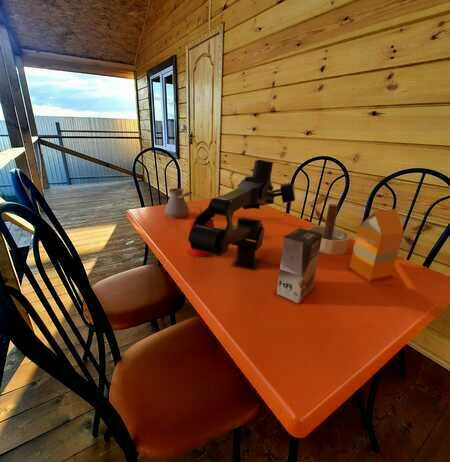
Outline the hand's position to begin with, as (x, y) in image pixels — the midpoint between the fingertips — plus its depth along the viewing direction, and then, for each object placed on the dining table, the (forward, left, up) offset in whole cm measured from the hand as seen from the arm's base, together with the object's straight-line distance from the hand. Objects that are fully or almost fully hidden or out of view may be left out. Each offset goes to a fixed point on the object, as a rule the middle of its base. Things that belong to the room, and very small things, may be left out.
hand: (272, 198), depth 97 cm
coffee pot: (+5, +42, -16) cm, 45 cm away
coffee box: (-35, -12, -16) cm, 40 cm away
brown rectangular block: (-3, -21, -15) cm, 26 cm away
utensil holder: (-9, +24, -16) cm, 30 cm away
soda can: (-23, +20, -16) cm, 34 cm away
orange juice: (-17, -33, -16) cm, 40 cm away
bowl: (-3, -21, -16) cm, 27 cm away
